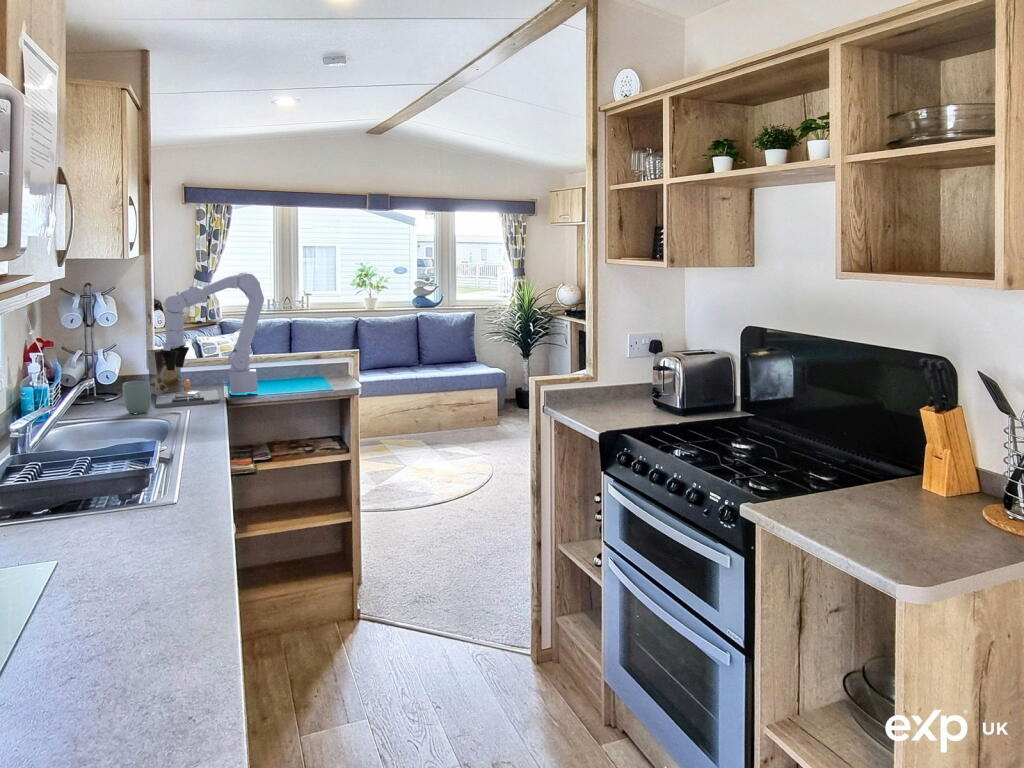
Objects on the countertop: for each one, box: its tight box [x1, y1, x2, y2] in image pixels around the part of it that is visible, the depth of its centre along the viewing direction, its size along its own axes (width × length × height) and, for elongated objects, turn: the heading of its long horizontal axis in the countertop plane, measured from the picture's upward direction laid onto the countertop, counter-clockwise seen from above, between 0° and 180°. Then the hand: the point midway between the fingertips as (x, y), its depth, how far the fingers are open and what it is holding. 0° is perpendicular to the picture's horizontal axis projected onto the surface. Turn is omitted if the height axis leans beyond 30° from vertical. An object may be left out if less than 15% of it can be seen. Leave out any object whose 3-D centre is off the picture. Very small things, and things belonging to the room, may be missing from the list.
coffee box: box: [146, 348, 183, 396], centre depth 271 cm, size 9×6×16 cm
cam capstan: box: [175, 379, 200, 398], centre depth 260 cm, size 12×8×4 cm, turn 24°
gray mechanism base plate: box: [155, 389, 221, 409], centre depth 259 cm, size 20×18×3 cm
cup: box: [121, 380, 152, 414], centre depth 239 cm, size 8×8×10 cm
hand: (175, 368), depth 258 cm, fingers open, 7 cm apart
